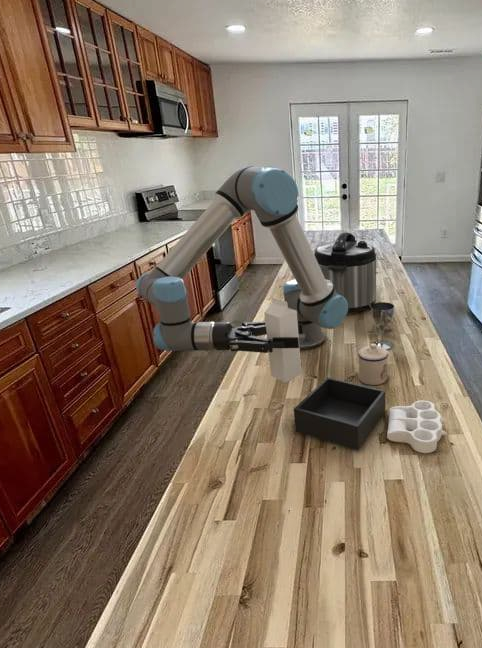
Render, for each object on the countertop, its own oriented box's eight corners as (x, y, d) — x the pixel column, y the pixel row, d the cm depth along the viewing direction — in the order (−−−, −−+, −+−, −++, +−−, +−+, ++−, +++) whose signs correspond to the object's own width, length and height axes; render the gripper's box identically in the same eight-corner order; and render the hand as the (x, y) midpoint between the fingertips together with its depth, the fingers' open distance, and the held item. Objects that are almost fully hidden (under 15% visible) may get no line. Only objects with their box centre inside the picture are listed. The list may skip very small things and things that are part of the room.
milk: (285, 383, 116) (277, 305, 106) (270, 376, 120) (262, 300, 110) (302, 374, 120) (296, 298, 110) (287, 367, 124) (280, 294, 114)
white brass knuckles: (390, 408, 120) (444, 412, 118) (386, 450, 104) (448, 455, 102) (390, 398, 118) (445, 401, 116) (386, 438, 102) (450, 443, 100)
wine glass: (396, 343, 157) (398, 304, 151) (386, 352, 151) (387, 311, 145) (377, 339, 161) (377, 300, 155) (366, 347, 155) (366, 307, 149)
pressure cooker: (347, 290, 214) (346, 224, 200) (391, 304, 195) (393, 232, 181) (299, 306, 195) (294, 234, 181) (342, 322, 176) (340, 244, 163)
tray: (328, 398, 125) (327, 377, 122) (385, 412, 118) (385, 390, 115) (295, 431, 111) (293, 408, 108) (358, 450, 104) (357, 426, 101)
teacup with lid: (386, 386, 130) (387, 351, 125) (356, 385, 131) (356, 350, 126) (388, 367, 141) (389, 335, 136) (360, 366, 142) (360, 333, 137)
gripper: (227, 333, 126) (305, 332, 125) (205, 367, 107) (296, 367, 106) (224, 308, 123) (304, 307, 122) (200, 340, 104) (294, 339, 103)
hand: (300, 335), depth 114 cm, fingers closed on milk, 8 cm apart
